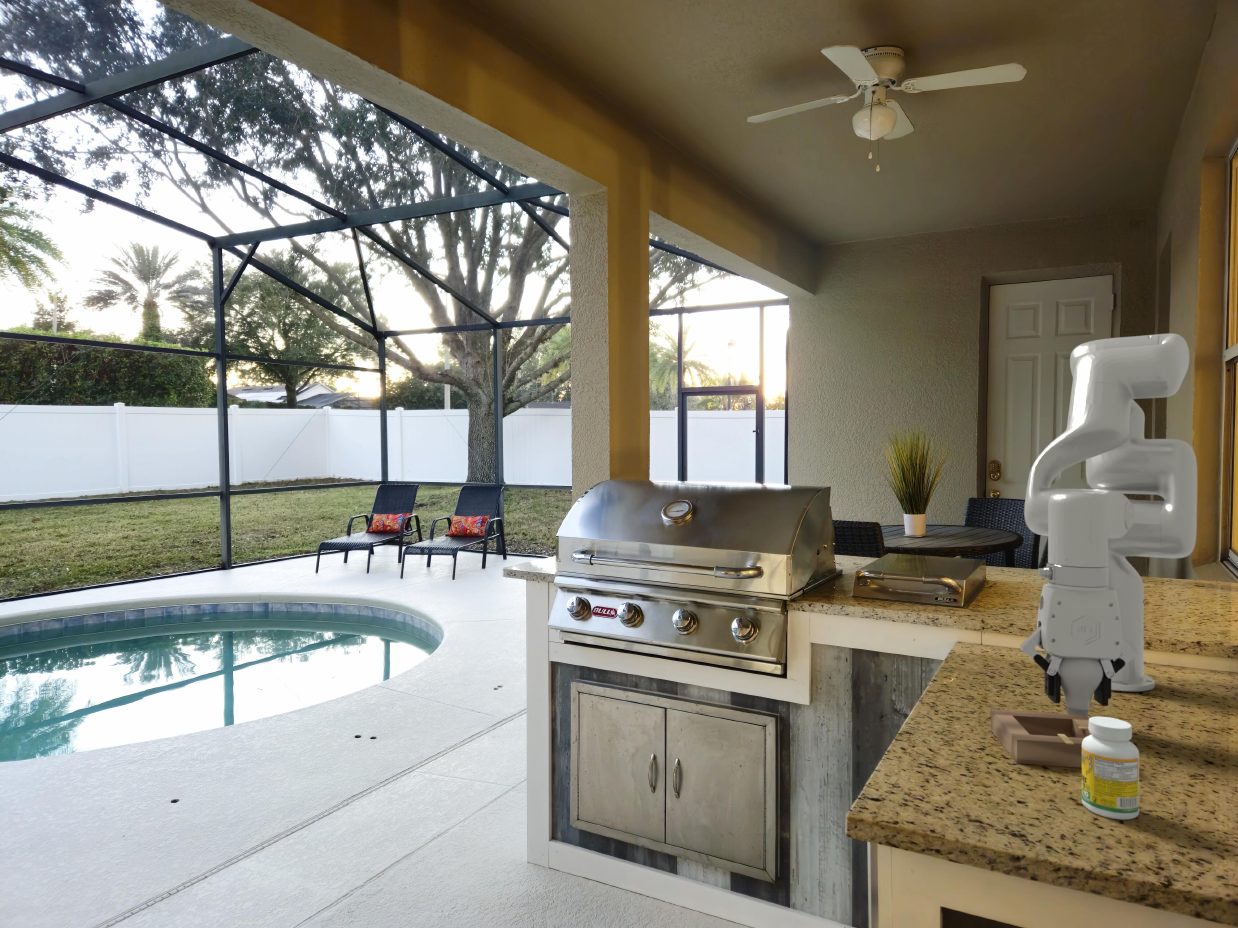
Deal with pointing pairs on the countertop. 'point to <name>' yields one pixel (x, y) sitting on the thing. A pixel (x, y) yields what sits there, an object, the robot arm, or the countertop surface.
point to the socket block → (1041, 736)
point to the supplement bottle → (1110, 769)
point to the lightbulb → (1079, 683)
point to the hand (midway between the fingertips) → (1077, 700)
